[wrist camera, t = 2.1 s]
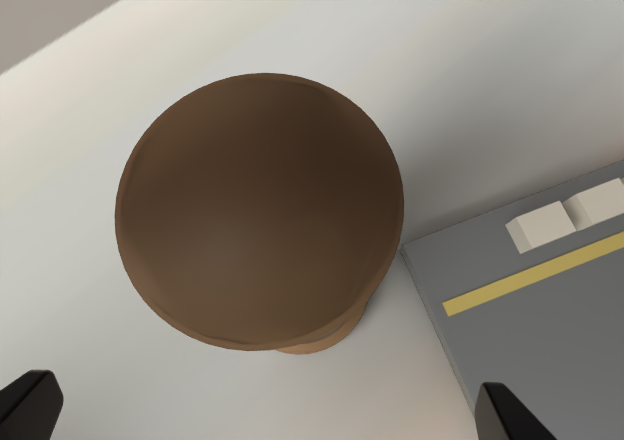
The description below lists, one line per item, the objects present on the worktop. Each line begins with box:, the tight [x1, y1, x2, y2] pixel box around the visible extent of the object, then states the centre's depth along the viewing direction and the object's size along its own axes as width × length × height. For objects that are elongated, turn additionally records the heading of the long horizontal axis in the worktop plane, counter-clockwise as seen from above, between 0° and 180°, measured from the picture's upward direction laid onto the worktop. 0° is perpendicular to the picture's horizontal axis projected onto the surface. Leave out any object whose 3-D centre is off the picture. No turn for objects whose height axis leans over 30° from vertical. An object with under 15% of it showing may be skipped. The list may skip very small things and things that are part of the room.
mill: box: [115, 73, 404, 354], centre depth 14 cm, size 6×6×12 cm
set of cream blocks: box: [505, 178, 624, 254], centre depth 19 cm, size 1×8×1 cm, turn 110°
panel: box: [400, 160, 624, 440], centre depth 19 cm, size 14×13×1 cm
